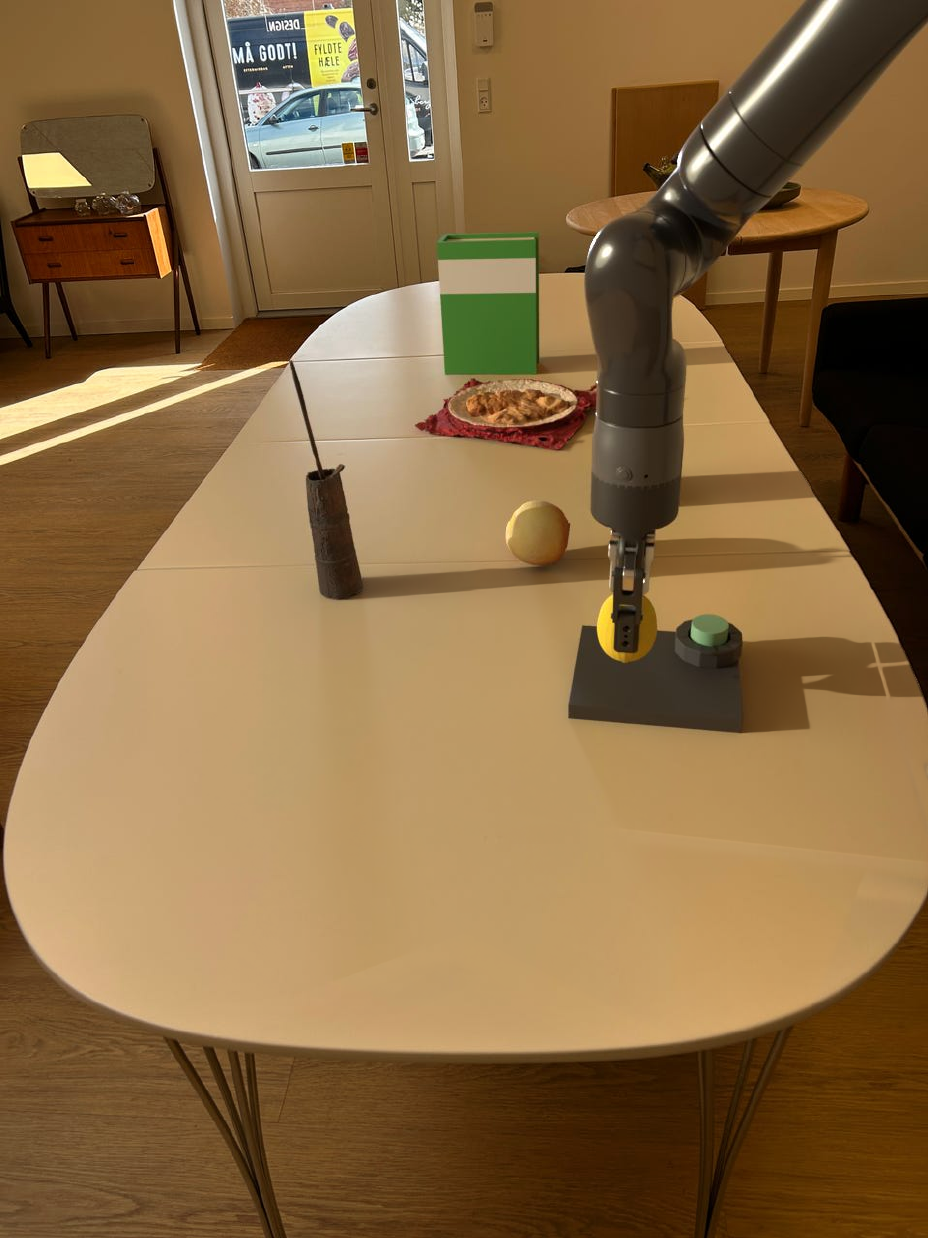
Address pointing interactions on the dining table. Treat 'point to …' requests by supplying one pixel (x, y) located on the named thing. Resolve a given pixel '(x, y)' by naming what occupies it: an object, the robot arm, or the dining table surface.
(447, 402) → the plate with food
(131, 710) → the dining table surface
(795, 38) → the robot arm
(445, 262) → the hardback book
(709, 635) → the button
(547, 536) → the fruit
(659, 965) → the dining table surface
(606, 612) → the lemon
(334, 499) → the butter churn
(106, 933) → the dining table surface
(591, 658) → the dark grey button base
